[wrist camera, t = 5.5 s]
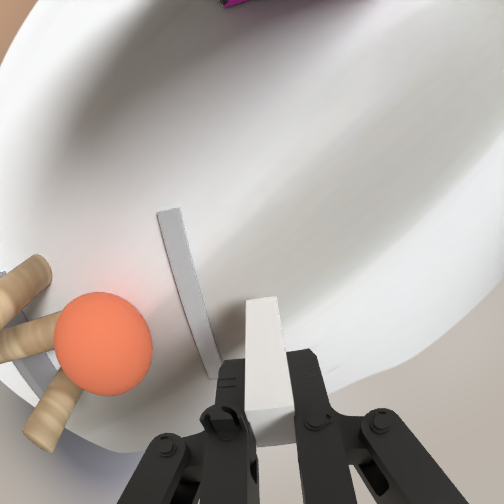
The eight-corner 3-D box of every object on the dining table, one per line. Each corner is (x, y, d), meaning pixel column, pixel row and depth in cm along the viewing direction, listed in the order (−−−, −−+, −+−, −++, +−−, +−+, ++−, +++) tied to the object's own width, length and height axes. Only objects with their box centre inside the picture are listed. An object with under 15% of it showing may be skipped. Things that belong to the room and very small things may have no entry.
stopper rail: (4, 271, 15) (-18, 288, 12) (65, 382, 19) (52, 403, 16) (-6, 273, 15) (-27, 289, 12) (52, 380, 19) (40, 400, 16)
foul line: (179, 207, 13) (178, 208, 13) (226, 376, 18) (226, 378, 18) (158, 211, 13) (157, 212, 13) (209, 377, 18) (209, 379, 18)
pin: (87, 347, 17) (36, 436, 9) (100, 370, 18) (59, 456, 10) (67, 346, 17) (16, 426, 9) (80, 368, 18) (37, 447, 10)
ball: (31, 306, 12) (108, 266, 16) (74, 379, 14) (138, 339, 18) (43, 350, 8) (150, 289, 12) (106, 433, 10) (186, 377, 14)
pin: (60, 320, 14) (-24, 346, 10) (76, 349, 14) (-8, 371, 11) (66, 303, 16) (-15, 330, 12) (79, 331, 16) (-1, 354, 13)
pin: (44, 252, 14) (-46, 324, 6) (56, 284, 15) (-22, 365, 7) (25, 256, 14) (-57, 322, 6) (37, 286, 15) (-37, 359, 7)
